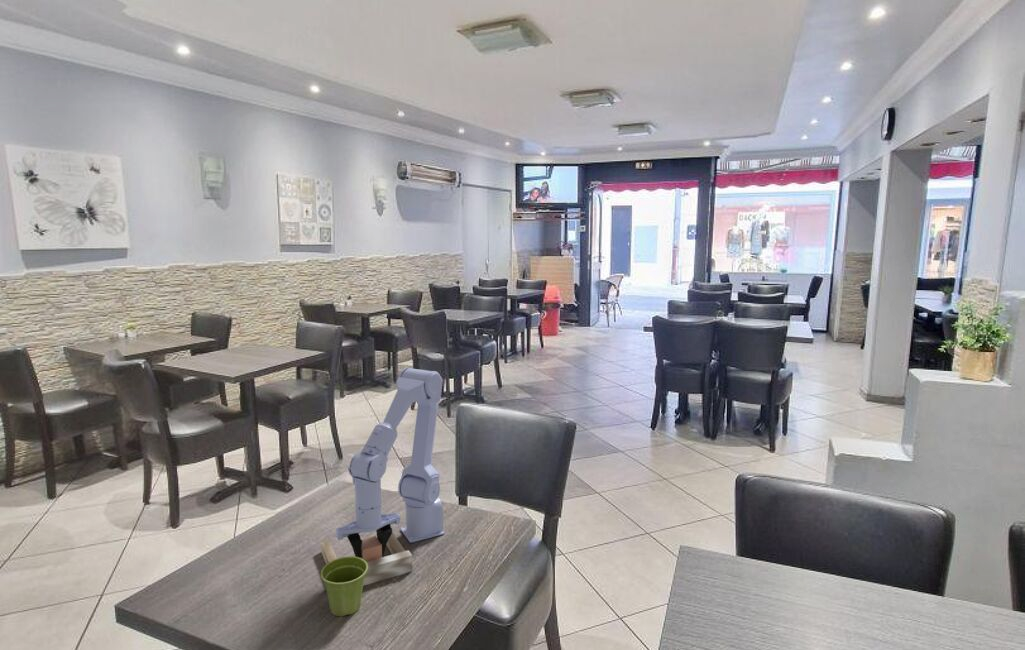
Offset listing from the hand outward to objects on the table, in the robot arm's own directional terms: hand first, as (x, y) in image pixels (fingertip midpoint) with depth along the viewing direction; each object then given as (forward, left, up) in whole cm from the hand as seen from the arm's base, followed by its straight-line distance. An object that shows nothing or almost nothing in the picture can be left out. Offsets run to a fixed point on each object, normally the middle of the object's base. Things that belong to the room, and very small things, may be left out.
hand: (369, 559), depth 126 cm
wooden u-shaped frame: (0, -4, -3) cm, 5 cm away
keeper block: (0, 0, -2) cm, 2 cm away
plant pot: (+8, +11, -3) cm, 14 cm away
